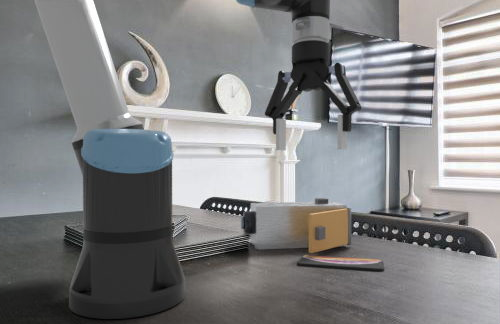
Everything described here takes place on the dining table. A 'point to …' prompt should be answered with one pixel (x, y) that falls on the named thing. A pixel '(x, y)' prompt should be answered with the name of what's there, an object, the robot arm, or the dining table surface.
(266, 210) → the silver box with door
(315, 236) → the side door
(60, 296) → the dining table surface
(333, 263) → the smartphone
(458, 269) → the dining table surface
